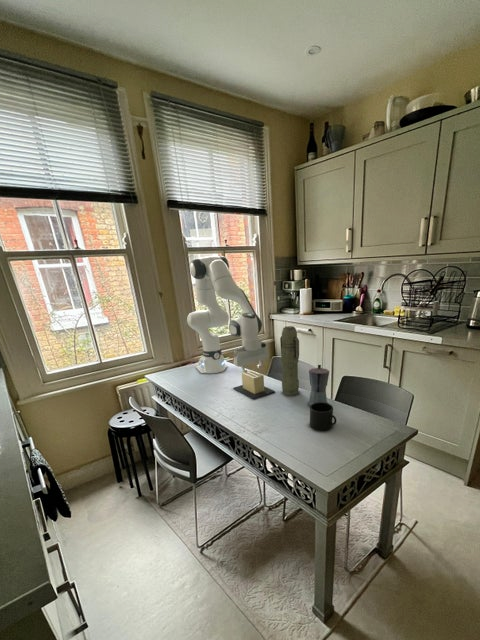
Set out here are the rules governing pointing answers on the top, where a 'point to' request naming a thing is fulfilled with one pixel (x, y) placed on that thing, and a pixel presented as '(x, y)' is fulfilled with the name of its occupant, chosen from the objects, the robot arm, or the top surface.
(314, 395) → the moka pot
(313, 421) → the mug
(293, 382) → the thermos
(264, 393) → the mat
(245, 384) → the toaster
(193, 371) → the top surface
